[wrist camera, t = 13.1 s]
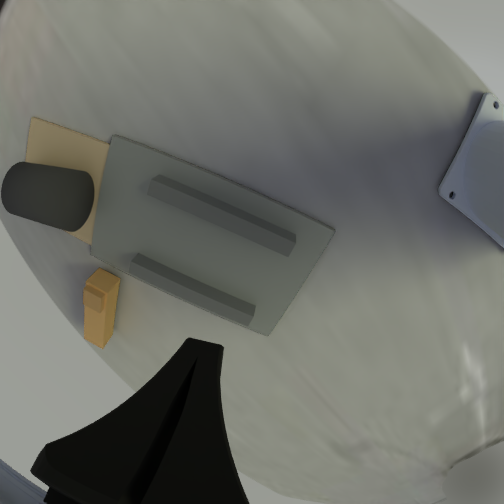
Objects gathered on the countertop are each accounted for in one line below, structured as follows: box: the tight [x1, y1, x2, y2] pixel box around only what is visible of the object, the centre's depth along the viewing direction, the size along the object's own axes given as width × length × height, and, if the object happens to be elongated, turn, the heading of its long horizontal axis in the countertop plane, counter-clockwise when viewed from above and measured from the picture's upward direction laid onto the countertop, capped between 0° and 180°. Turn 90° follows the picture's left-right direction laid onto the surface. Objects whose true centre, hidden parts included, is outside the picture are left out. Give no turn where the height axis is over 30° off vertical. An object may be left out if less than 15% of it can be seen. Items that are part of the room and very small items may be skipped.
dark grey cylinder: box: [1, 162, 95, 232], centre depth 17 cm, size 7×4×4 cm, turn 78°
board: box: [25, 117, 335, 336], centre depth 18 cm, size 24×10×2 cm, turn 67°
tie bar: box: [83, 268, 120, 349], centre depth 22 cm, size 2×7×3 cm, turn 157°
